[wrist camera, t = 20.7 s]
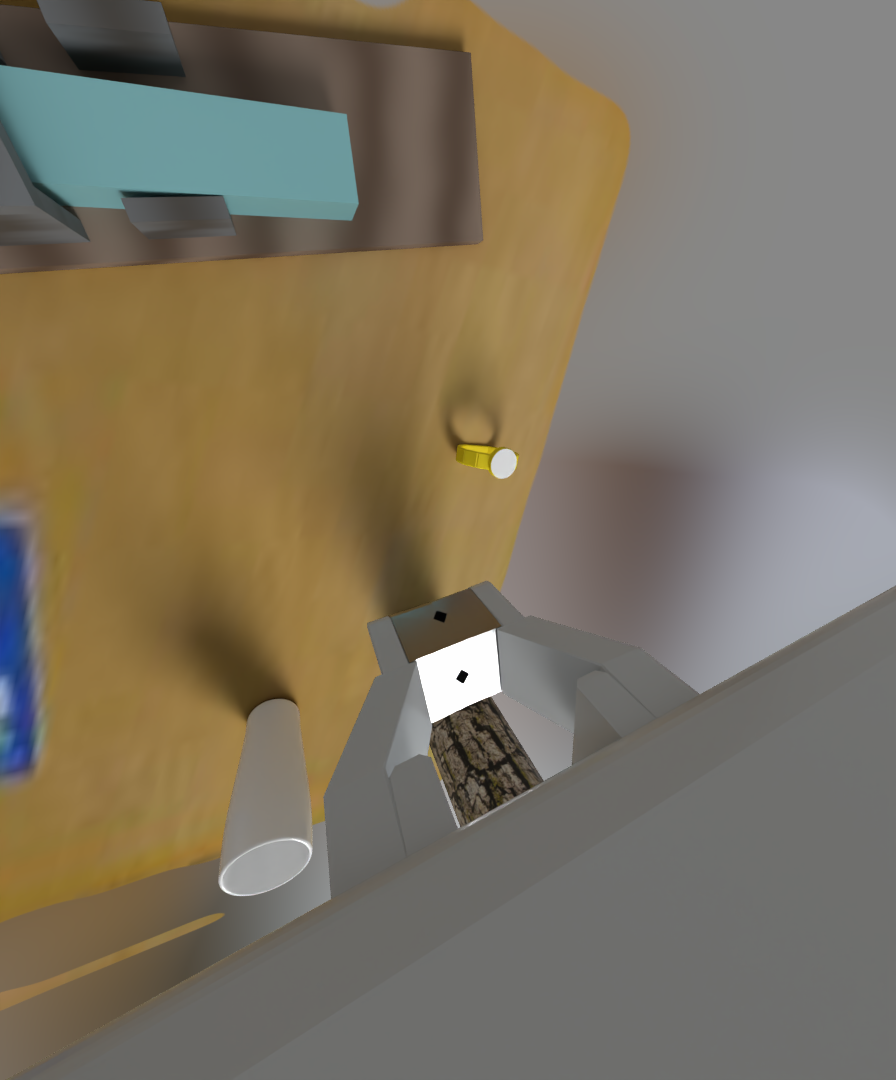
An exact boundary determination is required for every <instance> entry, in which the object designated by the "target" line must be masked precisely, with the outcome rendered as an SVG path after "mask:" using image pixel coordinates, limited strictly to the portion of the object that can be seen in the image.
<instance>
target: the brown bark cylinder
mask: <svg viewBox="0 0 896 1080" xmlns="http://www.w3.org/2000/svg"><path fill="white" fill-rule="evenodd" d="M429 745H430V747H431V750H432V752H433V755H434V758H435V760H436V763H437V766H438V768H439V771H440V774H441V776H442V779H443V781H444V784H445V787H446V789H447V792H448V795H449V798H450V800H451V803H452V805H453V808H454V811H455V813H456V816H457V819H458V821H459V824H460V827H462V826H464V825H466V824H467V823H469V822H471V821H473V820H475V819H476V818H478V817H480V816H482V815H484V814H485V813H487V812H489V811H491V810H493V809H494V808H496V807H498V806H500V805H502V804H503V803H505V802H507V801H509V800H511V799H512V798H514V797H516V796H518V795H520V794H521V793H523V792H525V791H527V790H529V789H530V788H532V787H534V786H536V785H538V784H539V783H541V782H543V779H542V777H541V776H540V774H539V773H538V771H537V770H536V768H535V766H534V765H533V763H532V761H531V760H530V758H529V757H528V755H527V754H526V752H525V750H524V749H523V747H522V745H521V744H520V742H519V741H518V739H517V737H516V736H515V734H514V733H513V731H512V729H511V728H510V726H509V725H508V723H507V721H506V720H505V718H504V717H503V715H502V713H501V712H500V710H499V708H498V707H497V705H496V704H495V702H494V701H493V699H492V698H491V696H489V697H487V698H484V699H482V700H480V701H477V702H475V703H472V704H470V705H468V706H465V707H463V708H461V709H459V710H457V711H455V712H453V713H451V714H449V715H447V716H445V717H443V718H441V719H439V720H437V721H435V722H433V723H432V730H431V737H430V743H429Z"/></svg>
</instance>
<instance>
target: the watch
mask: <svg viewBox="0 0 896 1080" xmlns="http://www.w3.org/2000/svg"><path fill="white" fill-rule="evenodd" d="M518 457H519V454H518V453H516V452H514V451H512V450H511V449H509V448H505V447H499V448H497V447H491V446H480V445H467V444H462V445H458V446H457V454H456V461H457V462H459V463H461V464H464V465H467V466H471V467H475V468H476V467H477V468H481V469H487V470H488V471H489V472H490V474H491V475H493V476H494V477H496V478H500V479H503V478H507V477H508V476H510V475H511V474H512V473H513V471H514V470H515V469H516V468H517V462H518Z"/></svg>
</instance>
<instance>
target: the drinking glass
mask: <svg viewBox="0 0 896 1080" xmlns="http://www.w3.org/2000/svg"><path fill="white" fill-rule="evenodd" d="M311 856H312V810H311V798H310V790H309V783H308V776H307V769H306V763H305V756H304V749H303V741H302V734H301V726H300V712H299V709H298V707H297V705H296V704H295V703H293V702H292V701H290V700H286V699H272V700H268V701H266V702H263V703H261V704H260V705H258V706H257V707H256V708H255V709H254V710H253V711H252V712H251V713H250V715H249V717H248V720H247V725H246V733H245V738H244V743H243V747H242V752H241V756H240V761H239V765H238V769H237V774H236V778H235V782H234V787H233V791H232V795H231V799H230V804H229V808H228V813H227V818H226V823H225V828H224V835H223V841H222V849H221V858H220V869H219V879H218V881H219V886H220V888H221V889H222V890H223V891H224V892H226V893H228V894H231V895H235V896H248V895H255V894H260V893H263V892H266V891H269V890H272V889H274V888H277V887H279V886H281V885H283V884H284V883H286V882H288V881H289V880H291V879H292V878H294V877H295V876H296V875H298V874H299V873H300V872H301V871H302V870H303V869H304V868H305V866H306V865H307V864H308V862H309V860H310V858H311Z"/></svg>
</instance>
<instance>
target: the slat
mask: <svg viewBox="0 0 896 1080" xmlns="http://www.w3.org/2000/svg"><path fill="white" fill-rule="evenodd" d="M0 120H1V122H2V124H3V126H4V128H5V130H6V132H7V134H8V136H9V138H10V140H11V142H12V144H13V146H14V148H15V150H16V152H17V154H18V156H19V158H20V160H21V162H22V164H23V166H24V168H25V170H26V172H27V174H28V176H29V178H30V180H31V182H32V184H33V186H34V187H36V188H37V189H38V190H40V191H41V192H42V193H44V194H45V195H47V196H48V197H49V198H51V199H52V200H53V201H55V202H56V203H57V204H59V205H60V206H75V207H94V208H114V209H125V207H124V205H123V203H122V200H121V198H142V197H201V196H223V197H224V200H225V203H226V205H227V208H228V211H229V213H230V214H232V215H251V216H271V217H290V218H310V219H330V220H349V221H352V219H353V216H354V214H355V212H356V209H357V207H358V204H359V202H358V195H357V188H356V180H355V173H354V166H353V158H352V151H351V144H350V136H349V129H348V122H347V114H342V113H335V112H328V111H321V110H314V109H307V108H300V107H293V106H286V105H279V104H272V103H265V102H258V101H251V100H243V99H236V98H229V97H222V96H215V95H208V94H201V93H194V92H187V91H180V90H173V89H166V88H159V87H152V86H145V85H137V84H130V83H123V82H116V81H109V80H102V79H95V78H88V77H81V76H74V75H67V74H60V73H53V72H46V71H38V70H31V69H24V68H17V67H10V66H3V65H0Z"/></svg>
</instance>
